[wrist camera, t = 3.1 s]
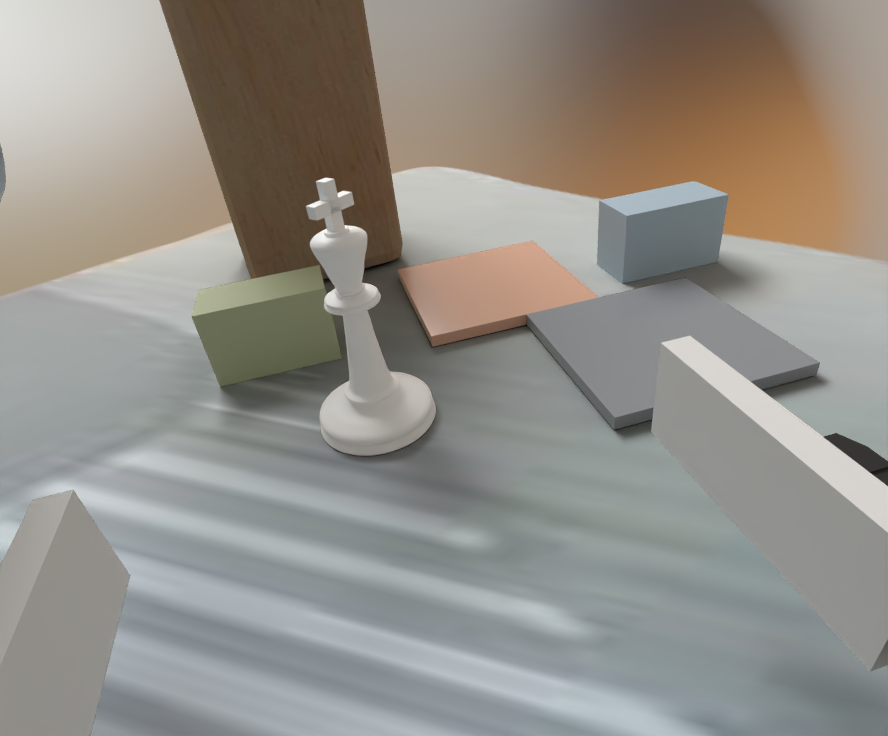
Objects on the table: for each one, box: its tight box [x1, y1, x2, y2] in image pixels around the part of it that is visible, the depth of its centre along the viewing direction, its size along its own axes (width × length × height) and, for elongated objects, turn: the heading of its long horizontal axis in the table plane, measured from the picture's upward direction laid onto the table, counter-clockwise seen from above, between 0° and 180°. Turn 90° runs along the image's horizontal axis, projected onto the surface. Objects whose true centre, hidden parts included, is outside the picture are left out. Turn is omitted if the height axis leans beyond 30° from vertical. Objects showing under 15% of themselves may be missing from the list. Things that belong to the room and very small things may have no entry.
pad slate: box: [526, 277, 820, 430], centre depth 26 cm, size 9×9×1 cm
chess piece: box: [306, 178, 436, 456], centre depth 22 cm, size 5×5×10 cm
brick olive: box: [192, 265, 342, 387], centre depth 28 cm, size 6×3×4 cm, turn 105°
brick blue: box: [597, 181, 728, 284], centre depth 33 cm, size 6×3×4 cm, turn 105°
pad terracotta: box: [398, 241, 599, 347], centre depth 33 cm, size 9×9×1 cm
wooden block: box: [159, 0, 402, 279], centre depth 35 cm, size 10×10×20 cm
